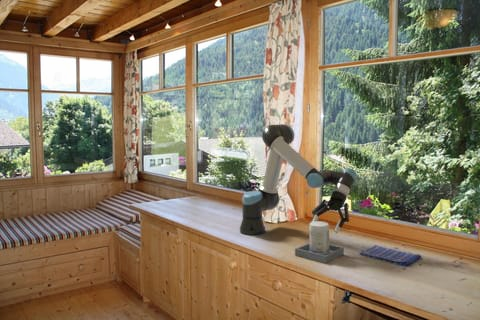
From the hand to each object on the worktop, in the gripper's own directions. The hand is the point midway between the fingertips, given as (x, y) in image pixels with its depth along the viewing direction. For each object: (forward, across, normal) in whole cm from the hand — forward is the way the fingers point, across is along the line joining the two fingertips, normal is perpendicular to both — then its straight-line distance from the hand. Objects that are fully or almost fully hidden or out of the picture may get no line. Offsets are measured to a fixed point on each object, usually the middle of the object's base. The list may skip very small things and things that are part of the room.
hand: (323, 229), depth 193 cm
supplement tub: (+10, +1, -6) cm, 12 cm away
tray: (+10, +1, -7) cm, 12 cm away
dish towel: (-4, -26, -22) cm, 34 cm away
